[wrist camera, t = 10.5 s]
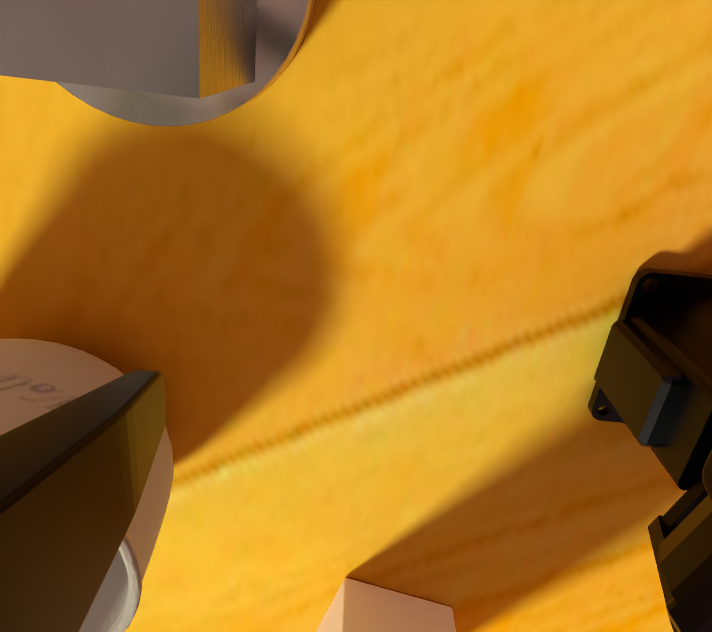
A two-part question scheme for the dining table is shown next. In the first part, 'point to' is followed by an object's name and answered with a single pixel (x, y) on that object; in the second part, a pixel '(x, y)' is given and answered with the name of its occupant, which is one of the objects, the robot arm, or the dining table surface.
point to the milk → (383, 611)
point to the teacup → (52, 389)
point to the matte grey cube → (132, 44)
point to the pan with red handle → (273, 54)
